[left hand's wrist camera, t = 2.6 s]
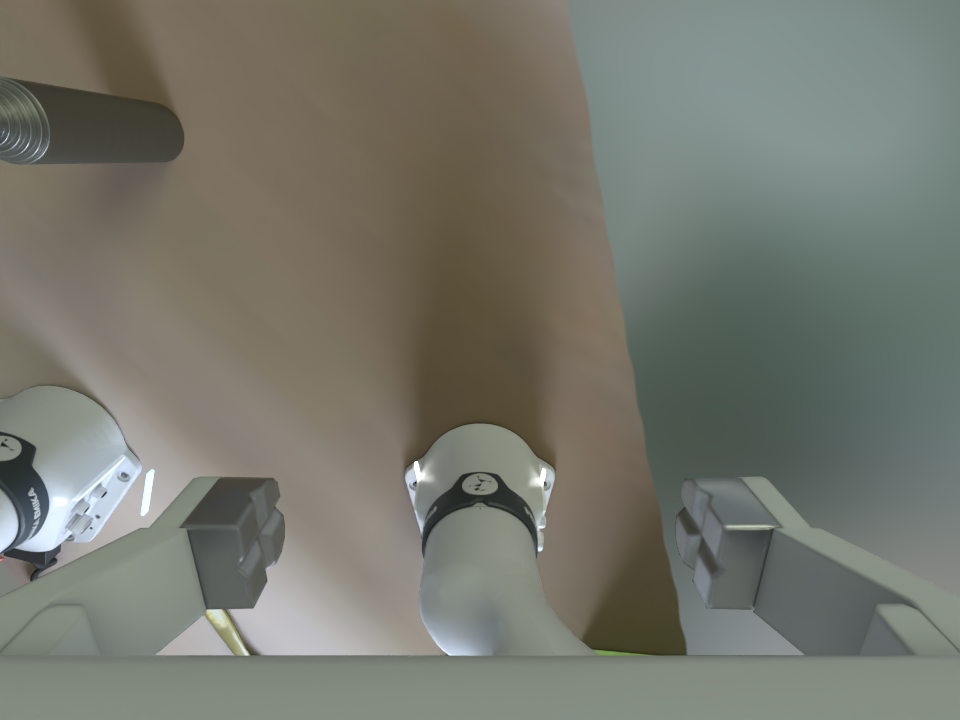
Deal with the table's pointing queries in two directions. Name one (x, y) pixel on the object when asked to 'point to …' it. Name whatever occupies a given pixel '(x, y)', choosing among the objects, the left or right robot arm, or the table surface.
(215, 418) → the table surface
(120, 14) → the table surface
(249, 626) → the table surface
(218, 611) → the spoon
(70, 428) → the right robot arm
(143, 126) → the bottle
